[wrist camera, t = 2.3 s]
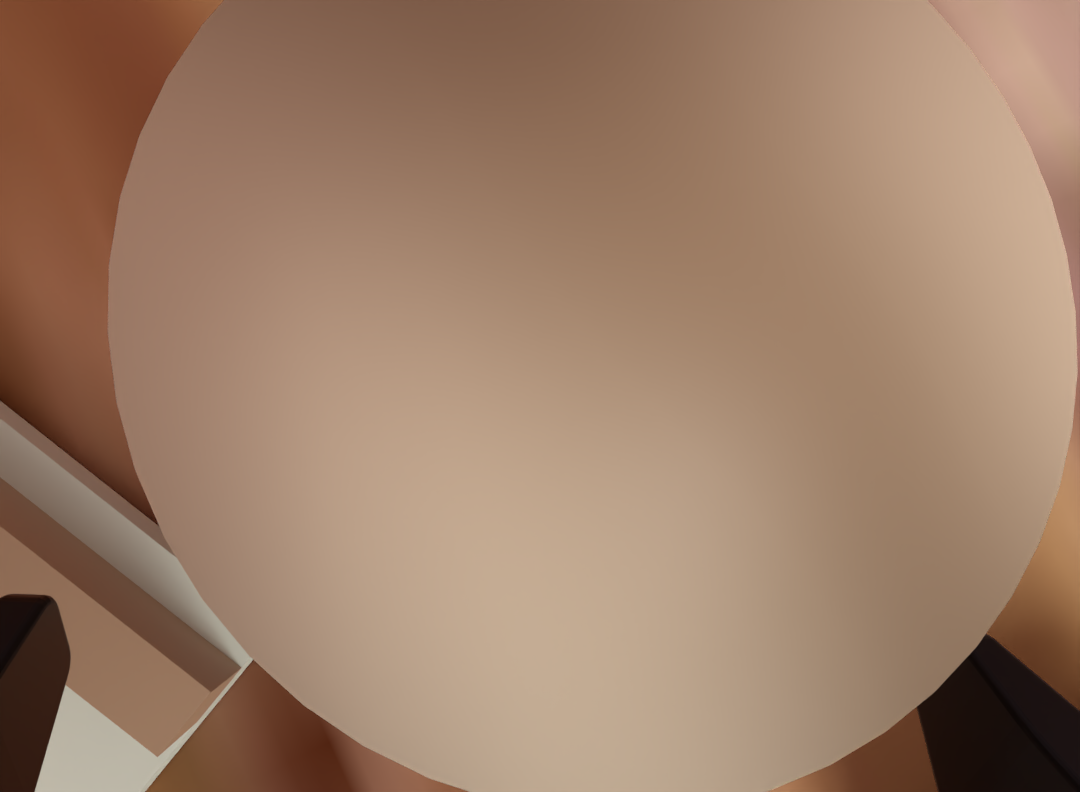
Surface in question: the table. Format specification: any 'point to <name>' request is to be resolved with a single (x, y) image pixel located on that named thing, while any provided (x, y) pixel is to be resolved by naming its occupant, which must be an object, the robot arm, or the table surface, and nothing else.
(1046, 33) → the table surface
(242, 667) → the cream cradle stand
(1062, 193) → the table surface
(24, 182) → the table surface
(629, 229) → the bobbin
